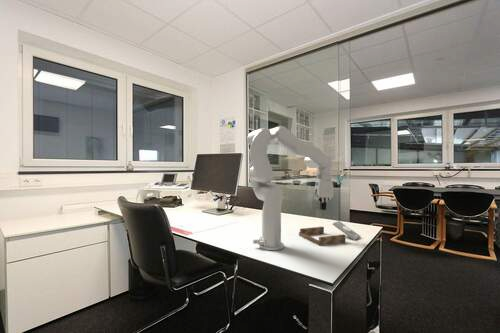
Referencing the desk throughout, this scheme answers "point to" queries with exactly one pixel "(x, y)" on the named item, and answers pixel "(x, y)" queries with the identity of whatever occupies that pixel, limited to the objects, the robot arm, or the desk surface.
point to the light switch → (346, 230)
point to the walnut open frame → (322, 240)
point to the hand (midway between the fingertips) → (323, 209)
